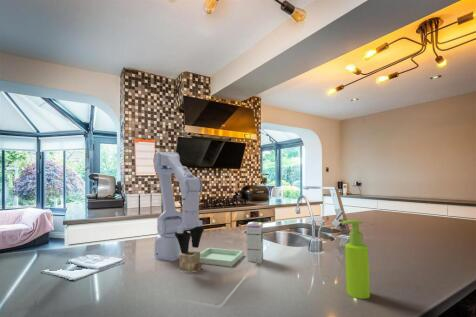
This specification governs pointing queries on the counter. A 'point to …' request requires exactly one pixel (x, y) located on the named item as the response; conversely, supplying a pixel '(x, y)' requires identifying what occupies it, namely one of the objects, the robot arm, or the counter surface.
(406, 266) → the counter surface
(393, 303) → the counter surface
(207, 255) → the tray
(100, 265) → the bicycle print towel
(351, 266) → the soap dispenser
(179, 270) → the silver knobbed lid
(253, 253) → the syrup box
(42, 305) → the counter surface
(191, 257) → the tan wooden hollow block
